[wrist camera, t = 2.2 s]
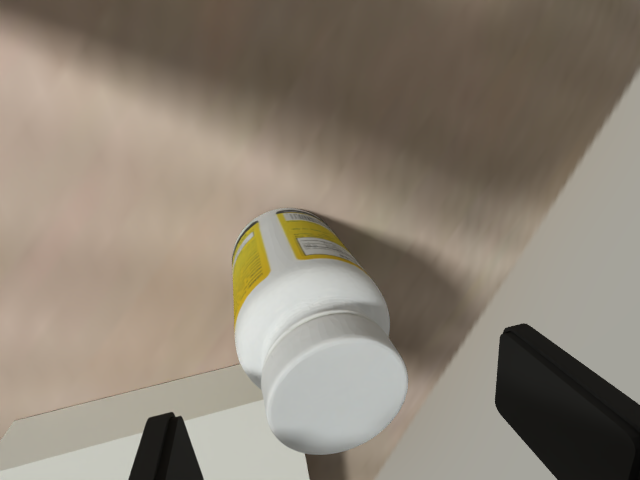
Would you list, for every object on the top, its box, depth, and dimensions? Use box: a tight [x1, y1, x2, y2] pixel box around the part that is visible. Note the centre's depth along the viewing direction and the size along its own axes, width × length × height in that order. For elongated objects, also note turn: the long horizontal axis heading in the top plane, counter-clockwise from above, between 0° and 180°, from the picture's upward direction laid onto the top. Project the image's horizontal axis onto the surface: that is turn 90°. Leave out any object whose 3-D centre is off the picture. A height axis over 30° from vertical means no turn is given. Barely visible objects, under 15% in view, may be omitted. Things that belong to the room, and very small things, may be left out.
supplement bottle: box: [232, 208, 408, 455], centre depth 14 cm, size 5×5×10 cm
